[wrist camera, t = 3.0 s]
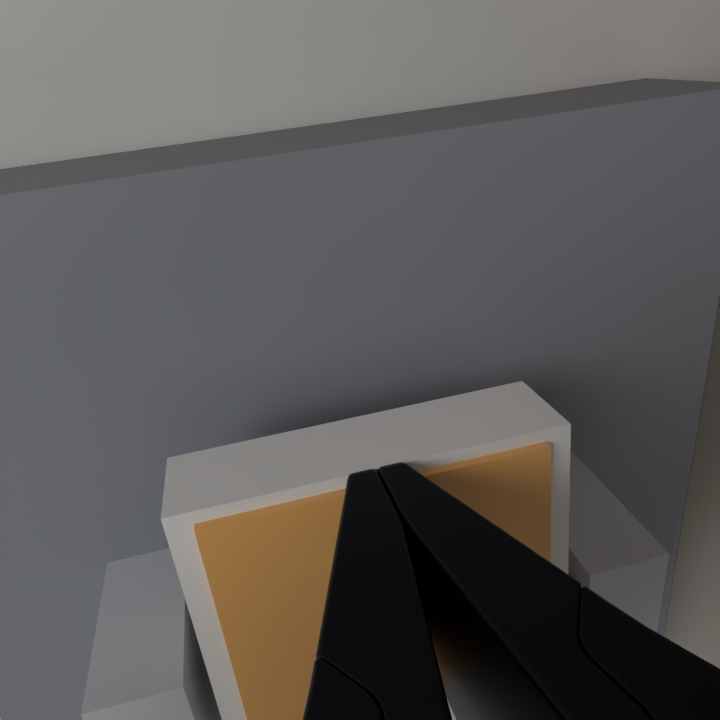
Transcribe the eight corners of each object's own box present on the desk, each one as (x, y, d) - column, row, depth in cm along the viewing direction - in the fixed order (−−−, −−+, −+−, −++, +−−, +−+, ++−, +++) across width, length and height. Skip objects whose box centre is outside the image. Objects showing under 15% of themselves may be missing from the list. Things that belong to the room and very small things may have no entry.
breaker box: (594, 644, 22) (725, 839, 16) (118, 783, 19) (87, 1069, 14) (646, 78, 14) (945, 94, 8) (-167, 193, 11) (-514, 325, 6)
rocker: (528, 761, 15) (567, 839, 13) (277, 841, 14) (285, 935, 12) (522, 380, 11) (576, 428, 9) (166, 458, 10) (159, 525, 8)
